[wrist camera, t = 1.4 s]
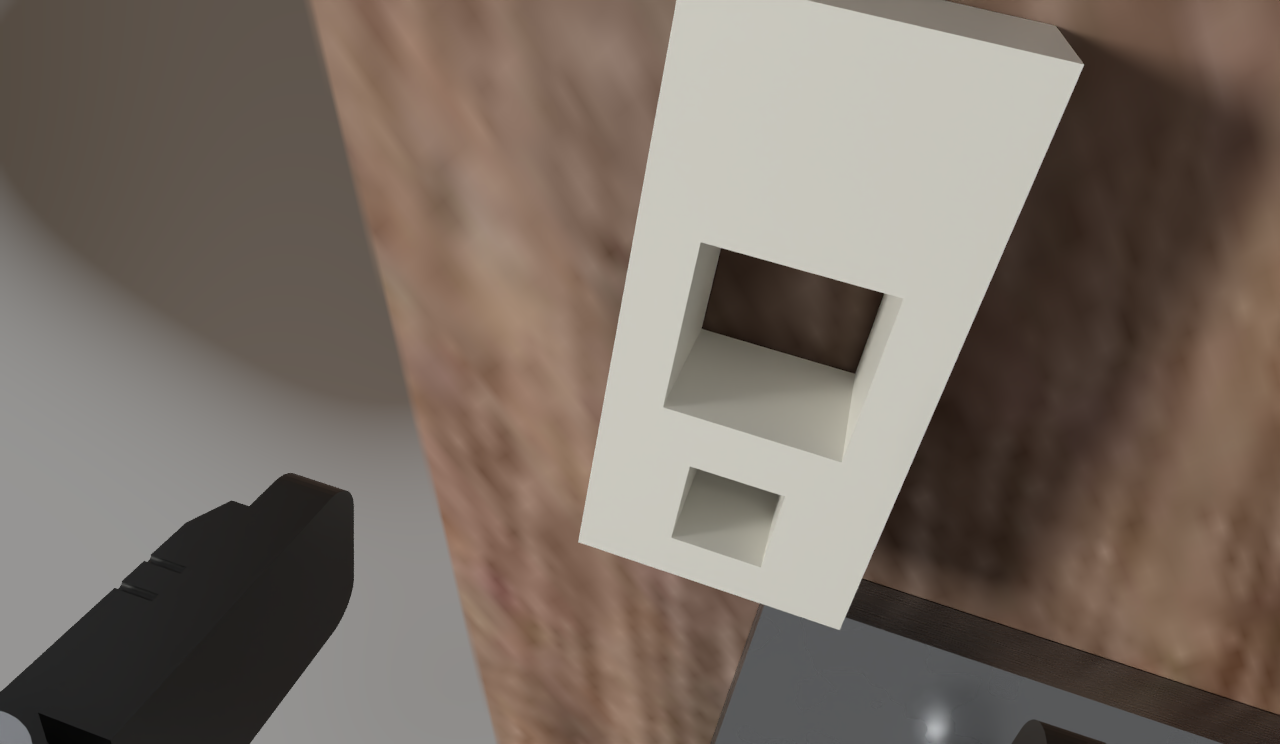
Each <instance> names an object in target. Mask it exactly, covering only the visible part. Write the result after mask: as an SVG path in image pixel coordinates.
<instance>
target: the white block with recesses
mask: <svg viewBox="0 0 1280 744" xmlns="http://www.w3.org/2000/svg"><path fill="white" fill-rule="evenodd" d="M1083 66H1084V64H1083V62H1082V61H1081V59H1080V58H1079V57H1078V55H1077V54H1076V53H1075V51H1074V50H1073V49H1072V47H1071V46H1070V45H1069V43H1068V42H1067V40H1066V39H1065V38H1064V36H1063V35H1062V34H1061V32H1060V31H1059V30H1058V28H1057V27H1056V26H1054V25H1050V24H1046V23H1041V22H1037V21H1032V20H1028V19H1024V18H1019V17H1015V16H1010V15H1006V14H1002V13H997V12H993V11H988V10H984V9H980V8H975V7H971V6H966V5H962V4H958V3H953V2H949V1H944V0H677V1H676V7H675V12H674V18H673V23H672V29H671V34H670V40H669V45H668V51H667V56H666V62H665V67H664V73H663V78H662V84H661V89H660V95H659V100H658V106H657V111H656V117H655V122H654V128H653V133H652V139H651V144H650V150H649V155H648V161H647V166H646V172H645V177H644V183H643V188H642V194H641V199H640V205H639V210H638V216H637V221H636V227H635V233H634V238H633V244H632V249H631V255H630V260H629V266H628V271H627V277H626V282H625V288H624V293H623V299H622V304H621V310H620V315H619V321H618V326H617V332H616V337H615V343H614V348H613V354H612V359H611V365H610V370H609V376H608V381H607V387H606V392H605V398H604V403H603V409H602V414H601V420H600V425H599V431H598V436H597V442H596V447H595V453H594V458H593V464H592V469H591V475H590V480H589V486H588V491H587V497H586V502H585V508H584V513H583V519H582V524H581V530H580V536H579V541H578V542H580V543H583V544H586V545H589V546H592V547H595V548H598V549H600V550H603V551H606V552H609V553H612V554H615V555H618V556H621V557H624V558H627V559H630V560H633V561H636V562H639V563H642V564H645V565H648V566H651V567H654V568H657V569H660V570H663V571H666V572H669V573H672V574H675V575H678V576H681V577H684V578H686V579H689V580H692V581H695V582H698V583H701V584H704V585H707V586H710V587H713V588H716V589H719V590H722V591H725V592H728V593H731V594H734V595H737V596H740V597H743V598H746V599H749V600H752V601H755V602H758V603H761V604H764V605H767V606H770V607H772V608H775V609H778V610H781V611H784V612H787V613H790V614H793V615H796V616H799V617H802V618H805V619H808V620H811V621H814V622H817V623H820V624H823V625H826V626H829V627H832V628H835V629H838V630H840V628H841V626H842V623H843V621H844V619H845V616H846V614H847V612H848V610H849V607H850V605H851V603H852V600H853V598H854V596H855V593H856V591H857V589H858V586H859V584H860V582H861V580H862V577H863V575H864V573H865V570H866V568H867V566H868V563H869V561H870V559H871V556H872V554H873V552H874V549H875V547H876V545H877V543H878V540H879V538H880V536H881V533H882V531H883V529H884V526H885V524H886V522H887V519H888V517H889V515H890V512H891V510H892V508H893V506H894V503H895V501H896V499H897V496H898V494H899V492H900V489H901V487H902V485H903V482H904V480H905V478H906V476H907V473H908V471H909V469H910V466H911V464H912V462H913V459H914V457H915V455H916V452H917V450H918V448H919V445H920V443H921V441H922V439H923V436H924V434H925V432H926V429H927V427H928V425H929V422H930V420H931V418H932V415H933V413H934V411H935V408H936V406H937V404H938V402H939V399H940V397H941V395H942V392H943V390H944V388H945V385H946V383H947V381H948V378H949V376H950V374H951V372H952V369H953V367H954V365H955V362H956V360H957V358H958V355H959V353H960V351H961V348H962V346H963V344H964V341H965V339H966V337H967V335H968V332H969V330H970V328H971V325H972V323H973V321H974V318H975V316H976V314H977V311H978V309H979V307H980V304H981V302H982V300H983V298H984V295H985V293H986V291H987V288H988V286H989V284H990V281H991V279H992V277H993V274H994V272H995V270H996V268H997V265H998V263H999V261H1000V258H1001V256H1002V254H1003V251H1004V249H1005V247H1006V244H1007V242H1008V240H1009V237H1010V235H1011V233H1012V231H1013V228H1014V226H1015V224H1016V221H1017V219H1018V217H1019V214H1020V212H1021V210H1022V207H1023V205H1024V203H1025V200H1026V198H1027V196H1028V194H1029V191H1030V189H1031V187H1032V184H1033V182H1034V180H1035V177H1036V175H1037V173H1038V170H1039V168H1040V166H1041V164H1042V161H1043V159H1044V157H1045V154H1046V152H1047V150H1048V147H1049V145H1050V143H1051V140H1052V138H1053V136H1054V133H1055V131H1056V129H1057V127H1058V124H1059V122H1060V120H1061V117H1062V115H1063V113H1064V110H1065V108H1066V106H1067V103H1068V101H1069V99H1070V96H1071V94H1072V92H1073V90H1074V87H1075V85H1076V83H1077V80H1078V78H1079V76H1080V73H1081V71H1082V69H1083ZM721 248H723V249H727V250H730V251H734V252H738V253H741V254H745V255H748V256H752V257H756V258H759V259H763V260H766V261H770V262H774V263H777V264H781V265H784V266H788V267H792V268H795V269H799V270H802V271H806V272H809V273H813V274H817V275H820V276H824V277H827V278H831V279H835V280H838V281H842V282H845V283H849V284H853V285H856V286H860V287H863V288H867V289H871V290H874V291H878V292H881V293H884V295H883V298H882V301H881V304H880V306H879V309H878V312H877V315H876V318H875V320H874V323H873V326H872V329H871V331H870V334H869V337H868V340H867V342H866V345H865V348H864V351H863V353H862V356H861V359H860V362H859V364H858V367H857V370H856V373H855V374H854V373H850V372H847V371H844V370H840V369H837V368H833V367H830V366H827V365H823V364H820V363H816V362H813V361H810V360H806V359H803V358H799V357H796V356H793V355H789V354H786V353H782V352H779V351H776V350H772V349H769V348H765V347H762V346H758V345H755V344H752V343H748V342H745V341H741V340H738V339H735V338H731V337H728V336H724V335H721V334H718V333H714V332H711V331H707V330H704V329H702V325H703V321H704V317H705V313H706V309H707V304H708V300H709V296H710V292H711V288H712V284H713V280H714V276H715V271H716V267H717V263H718V259H719V255H720V251H721Z"/></svg>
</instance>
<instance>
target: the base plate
mask: <svg viewBox="0 0 1280 744" xmlns="http://www.w3.org/2000/svg"><path fill="white" fill-rule="evenodd" d="M1033 719H1035V720H1038V721H1041V722H1044V723H1047V724H1050V725H1053V726H1056V727H1059V728H1062V729H1065V730H1068V731H1071V732H1074V733H1078V734H1081V735H1084V736H1087V737H1090V738H1093V739H1096V740H1099V741H1102V742H1105V743H1106V744H1280V716H1278V715H1275V714H1271V713H1268V712H1265V711H1262V710H1259V709H1256V708H1253V707H1250V706H1247V705H1244V704H1241V703H1238V702H1235V701H1232V700H1229V699H1226V698H1223V697H1220V696H1216V695H1213V694H1210V693H1207V692H1204V691H1201V690H1198V689H1195V688H1192V687H1189V686H1186V685H1183V684H1180V683H1177V682H1174V681H1171V680H1168V679H1165V678H1162V677H1158V676H1155V675H1152V674H1149V673H1146V672H1143V671H1140V670H1137V669H1134V668H1131V667H1128V666H1125V665H1122V664H1119V663H1116V662H1113V661H1110V660H1107V659H1103V658H1100V657H1097V656H1094V655H1091V654H1088V653H1085V652H1082V651H1079V650H1076V649H1073V648H1070V647H1067V646H1064V645H1061V644H1058V643H1055V642H1052V641H1049V640H1045V639H1042V638H1039V637H1036V636H1033V635H1030V634H1027V633H1024V632H1021V631H1018V630H1015V629H1012V628H1009V627H1006V626H1003V625H1000V624H997V623H994V622H990V621H987V620H984V619H981V618H978V617H975V616H972V615H969V614H966V613H963V612H960V611H957V610H954V609H951V608H948V607H945V606H942V605H939V604H936V603H932V602H929V601H926V600H923V599H920V598H917V597H914V596H911V595H908V594H905V593H902V592H899V591H896V590H893V589H890V588H887V587H884V586H881V585H878V584H874V583H871V582H868V581H865V580H861V582H860V584H859V586H858V589H857V591H856V593H855V596H854V598H853V600H852V603H851V605H850V607H849V610H848V612H847V614H846V616H845V619H844V621H843V623H842V626H841V628H840V630H838V629H835V628H832V627H829V626H826V625H823V624H820V623H817V622H814V621H811V620H808V619H805V618H802V617H799V616H796V615H793V614H790V613H787V612H784V611H781V610H778V609H775V608H772V607H770V606H767V605H764V604H761V603H760V604H759V607H758V610H757V613H756V616H755V619H754V621H753V624H752V627H751V630H750V633H749V636H748V638H747V641H746V644H745V647H744V650H743V653H742V656H741V658H740V661H739V664H738V667H737V670H736V673H735V675H734V678H733V681H732V684H731V687H730V690H729V692H728V695H727V698H726V701H725V704H724V707H723V710H722V712H721V715H720V718H719V721H718V724H717V727H716V729H715V732H714V735H713V738H712V741H711V744H1012V742H1013V740H1014V739H1015V737H1016V736H1017V734H1018V733H1019V731H1020V730H1021V728H1022V727H1023V726H1024V724H1026V723H1027V722H1028V721H1030V720H1033Z"/></svg>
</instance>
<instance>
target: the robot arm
mask: <svg viewBox="0 0 1280 744" xmlns="http://www.w3.org/2000/svg"><path fill="white" fill-rule="evenodd" d="M353 505H354V504H353V498H352V495H351V494H350V493H349V492H348V491H345V490H342V489H339V488H336V487H333V486H330V485H327V484H324V483H321V482H318V481H315V480H312V479H309V478H306V477H303V476H300V475H296V474H293V473H288V474H285V475H283V476H281V477H280V478H278V479H277V480H276V481H275V482H274V483H273V484H272V485H271V486H270V487H269V488H268V489H267V490H266V491H265V492H264V493H263V494H261V495H260V496H259V497H258V498H257V500H255V501H254V502H253V503H252V504H251V505H250V506H246V505H243V504H240V503H237V502H234V501H230V502H228V503H226V504H224V505H222V506H220V507H217V508H216V509H213V510H211V511H209V512H207V513H205V514H203V515H201V516H199V517H197V518H195V519H193V520H191V521H189V522H187V523H185V524H184V525H183V526H182V527H181V528H180V529H179V530H178V531H177V532H175V533H174V534H173V535H172V536H171V537H170V538H169V539H168V540H167V541H166V542H164V543H163V544H162V545H161V546H160V547H159V548H158V549H157V550H156V551H155V552H154V553H152V554H151V558H150V560H149V561H148V562H145V561H144V562H143V563H141V564H140V565H139V566H138V567H137V568H136V569H135V570H134V571H133V572H132V573H131V574H130V575H128V576H127V577H126V578H125V579H124V580H123V581H122V585H121V586H120V588H119V589H116V588H114V589H113V590H112V591H111V592H110V593H109V594H108V595H106V596H105V597H104V598H103V599H102V600H101V601H100V602H99V603H98V604H97V605H96V606H94V607H93V608H92V609H91V610H90V611H89V612H88V613H87V614H86V615H85V616H84V617H82V618H81V619H80V620H79V621H78V622H77V623H76V624H75V625H74V626H72V627H71V628H70V629H69V630H68V631H67V632H66V633H65V634H64V635H63V636H61V637H60V638H59V639H58V640H57V641H56V642H55V643H54V644H53V645H52V646H51V647H50V648H48V649H47V650H46V651H45V652H44V653H43V654H42V655H41V656H40V657H39V658H37V659H36V660H35V661H34V662H33V663H32V664H31V665H30V666H29V667H28V668H26V669H25V670H24V671H23V672H22V673H21V674H20V675H19V676H18V677H17V678H15V679H14V680H13V681H12V682H11V683H10V684H9V685H8V686H7V687H6V688H5V689H3V690H2V691H1V692H0V744H250V742H251V741H252V740H253V739H254V737H255V736H256V735H257V733H258V732H259V731H260V729H261V728H262V726H263V725H264V724H265V723H266V721H267V720H268V719H269V717H270V716H271V715H272V713H273V712H274V711H275V709H276V708H277V706H278V705H279V704H280V703H281V701H282V700H283V698H284V697H285V696H286V694H287V693H288V692H289V690H290V689H291V688H292V687H293V685H294V684H295V682H296V681H297V680H298V679H299V677H300V676H301V674H302V673H303V672H304V671H305V669H306V668H307V667H308V665H309V664H310V663H311V661H312V660H313V658H314V657H315V656H316V655H317V653H318V652H319V650H320V649H321V648H322V646H323V645H324V644H325V642H326V641H327V640H328V639H329V637H330V636H331V635H332V633H333V632H334V630H335V629H336V627H337V626H338V624H339V622H340V620H341V619H342V617H343V615H344V612H345V610H346V608H347V605H348V603H349V599H350V596H351V592H352V588H353V581H354V506H353ZM1012 744H1106V743H1105V742H1102V741H1099V740H1096V739H1093V738H1090V737H1087V736H1084V735H1081V734H1078V733H1074V732H1071V731H1068V730H1065V729H1062V728H1059V727H1056V726H1053V725H1050V724H1047V723H1044V722H1041V721H1038V720H1035V719H1033V720H1030V721H1028V722H1027V723H1026V724H1024V726H1023V727H1022V728H1021V730H1020V731H1019V733H1018V734H1017V736H1016V737H1015V739H1014V740H1013V742H1012Z"/></svg>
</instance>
